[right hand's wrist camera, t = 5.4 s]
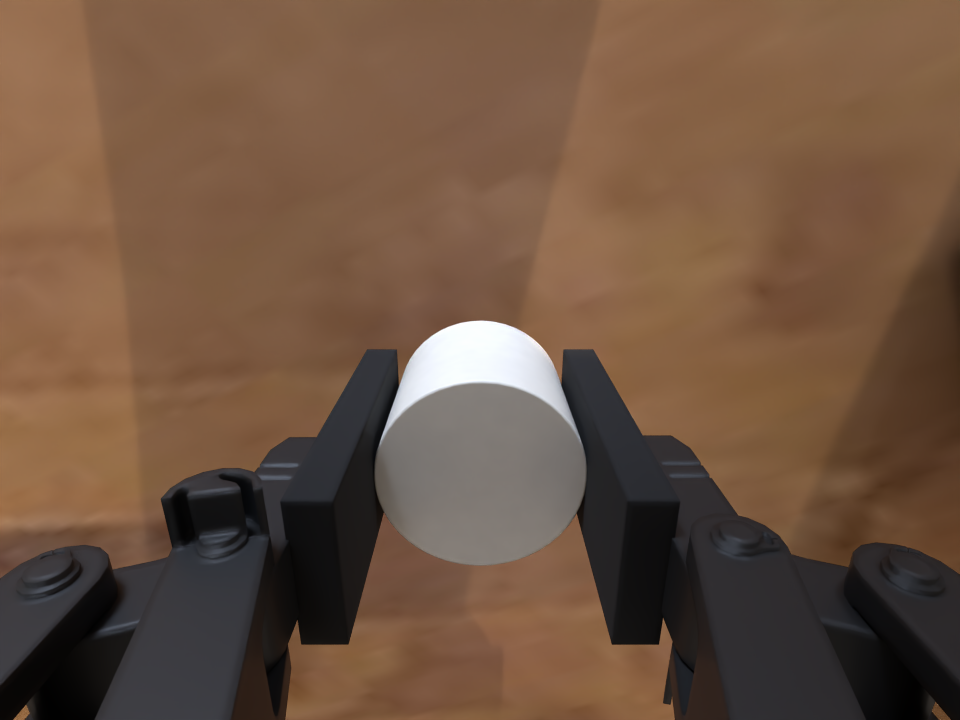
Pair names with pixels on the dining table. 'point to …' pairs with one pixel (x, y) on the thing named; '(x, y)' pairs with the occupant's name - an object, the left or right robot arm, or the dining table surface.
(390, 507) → the canister
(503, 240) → the dining table surface
